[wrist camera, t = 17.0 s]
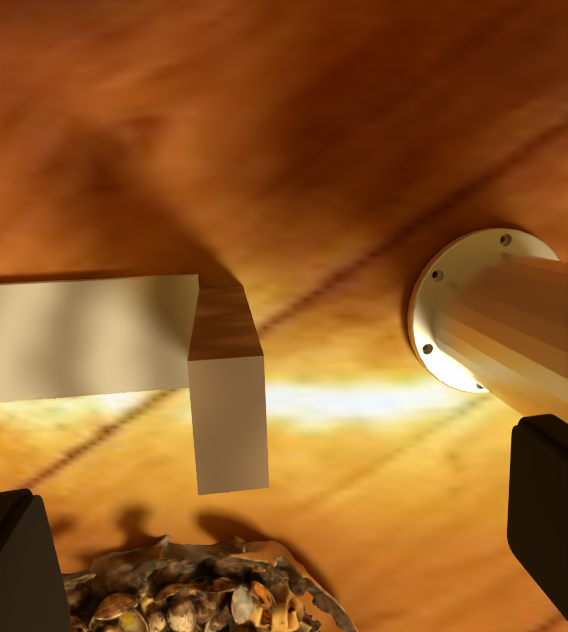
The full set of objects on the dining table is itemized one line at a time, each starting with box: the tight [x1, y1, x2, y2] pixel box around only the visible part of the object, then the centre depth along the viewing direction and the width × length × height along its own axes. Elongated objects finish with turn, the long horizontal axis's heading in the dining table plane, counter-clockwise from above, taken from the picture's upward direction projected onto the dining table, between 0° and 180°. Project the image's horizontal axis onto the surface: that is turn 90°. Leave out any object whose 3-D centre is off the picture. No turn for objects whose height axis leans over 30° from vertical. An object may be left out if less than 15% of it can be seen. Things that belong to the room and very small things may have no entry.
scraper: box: [0, 274, 269, 495], centre depth 26 cm, size 20×8×15 cm, turn 92°
